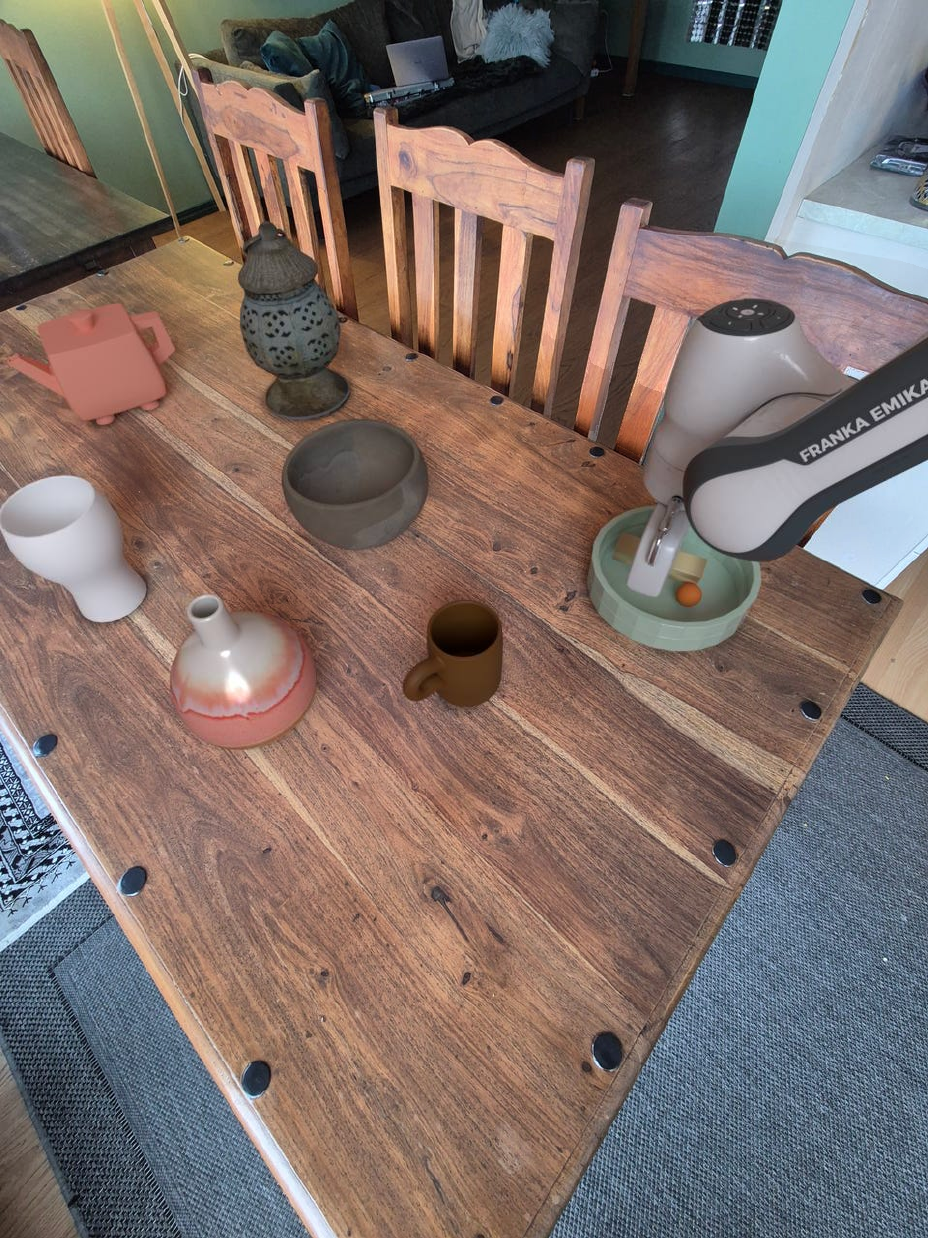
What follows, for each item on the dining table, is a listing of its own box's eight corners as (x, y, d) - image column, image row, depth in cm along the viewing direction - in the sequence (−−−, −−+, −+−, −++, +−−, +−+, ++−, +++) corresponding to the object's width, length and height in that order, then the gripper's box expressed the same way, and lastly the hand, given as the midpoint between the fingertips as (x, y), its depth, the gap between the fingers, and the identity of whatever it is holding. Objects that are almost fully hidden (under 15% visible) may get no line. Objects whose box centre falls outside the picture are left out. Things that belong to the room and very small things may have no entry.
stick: (700, 568, 74) (707, 559, 72) (694, 586, 74) (701, 577, 71) (617, 541, 76) (621, 531, 74) (611, 559, 76) (615, 549, 73)
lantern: (255, 421, 98) (197, 248, 78) (271, 370, 107) (223, 201, 87) (346, 419, 98) (311, 245, 78) (355, 367, 106) (325, 198, 87)
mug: (437, 752, 64) (430, 706, 57) (386, 706, 68) (374, 657, 60) (515, 678, 69) (519, 626, 62) (465, 638, 73) (463, 585, 65)
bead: (701, 604, 74) (705, 581, 73) (697, 612, 72) (701, 589, 71) (676, 599, 75) (680, 577, 74) (671, 607, 73) (675, 584, 72)
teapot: (54, 446, 96) (-3, 358, 84) (41, 403, 102) (-14, 317, 91) (198, 399, 102) (163, 312, 91) (177, 362, 109) (142, 277, 97)
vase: (312, 640, 73) (271, 531, 59) (340, 743, 65) (301, 644, 51) (189, 677, 70) (116, 571, 56) (204, 788, 62) (123, 698, 48)
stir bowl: (761, 563, 78) (776, 534, 74) (723, 679, 69) (738, 653, 65) (617, 516, 84) (623, 487, 80) (562, 617, 74) (567, 589, 70)
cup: (72, 574, 80) (0, 481, 68) (160, 557, 81) (104, 463, 69) (62, 641, 74) (-19, 551, 62) (157, 621, 75) (96, 530, 63)
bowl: (272, 517, 85) (251, 456, 77) (379, 458, 92) (369, 398, 84) (346, 591, 77) (330, 532, 69) (457, 521, 84) (454, 460, 76)
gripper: (693, 549, 57) (657, 637, 68) (747, 421, 67) (708, 515, 78) (625, 526, 58) (600, 615, 69) (688, 404, 69) (658, 499, 80)
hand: (658, 561), depth 74 cm, fingers closed on stick, 3 cm apart
